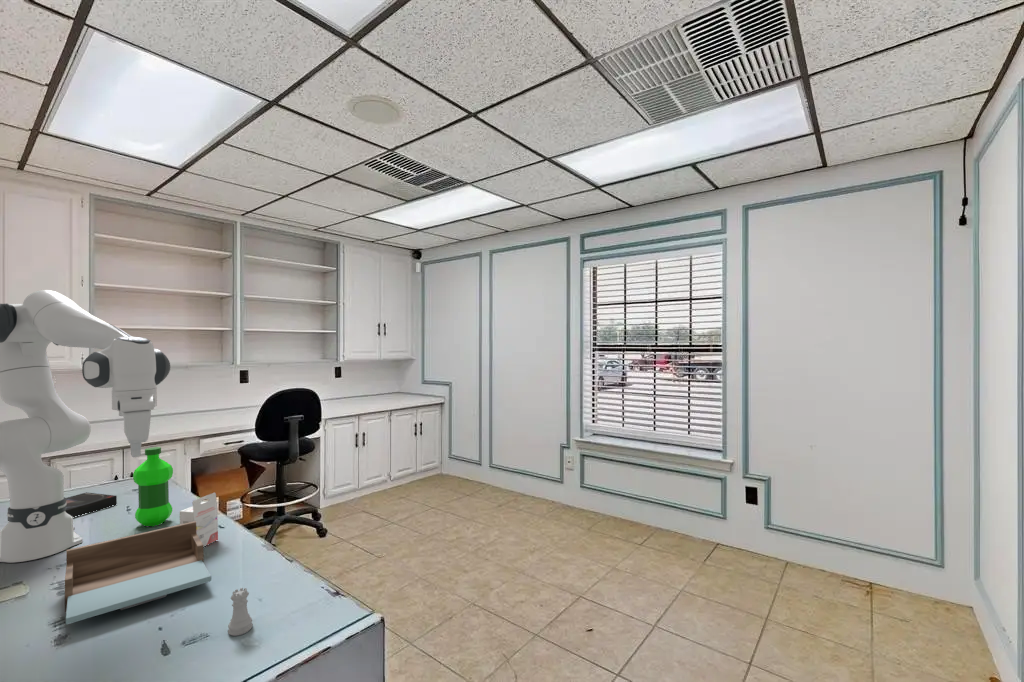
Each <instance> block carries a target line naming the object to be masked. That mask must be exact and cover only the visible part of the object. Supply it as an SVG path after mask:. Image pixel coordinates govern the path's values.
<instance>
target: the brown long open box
mask: <svg viewBox="0 0 1024 682" xmlns="http://www.w3.org/2000/svg"><path fill="white" fill-rule="evenodd" d="M65 551H66V555H65V557H66V559H65V560H66V562H65V563H66V565H65V572H64V573H65V575H64V613H66V611H67V601H68V596H72V595H76V594H79V593H83V592H87V591H90V590H94V589H98V588H101V587H105V586H109V585H112V584H116V583H120V582H123V581H127V580H131V579H135V578H138V577H142V576H146V575H149V574H153V573H157V572H160V571H164V570H168V569H171V568H175V567H179V566H182V565H186V564H190V563H193V562H197V561H201V560H202V561H203V563H204V564H205V561H204V560H205V559H204V552H205V551H204V548H203V544H202V542H201V540H200V538H199V537H198V535H197V533H196V521H193V522H189V523H184V524H180V523H179V524H176V525H172V526H168V527H167V526H166V527H163V528H159V529H154V530H149V531H146V532H140V533H136V534H131V535H127V536H122V537H118V538H114V539H109V540H105V541H101V542H100V541H99V542H96V543H92V544H86V545H83V546H78V547H72V548H70V549H69V548H67V549H65Z"/></svg>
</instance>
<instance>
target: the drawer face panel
mask: <svg viewBox="0 0 1024 682" xmlns="http://www.w3.org/2000/svg"><path fill="white" fill-rule="evenodd" d="M211 581H212V575H211V574H210V571H209V570H208V568H207V566H206V565H205V562H204V563H203V561H202V560H201V561H197V562H193V563H190V564H186V565H182V566H179V567H175V568H171V569H168V570H164V571H160V572H157V573H153V574H149V575H146V576H142V577H138V578H135V579H131V580H127V581H123V582H120V583H116V584H112V585H109V586H105V587H101V588H98V589H94V590H90V591H87V592H83V593H79V594H76V595H72V596H68V601H67V611H66V612H65V613H66V614H65V625H70V624H73V623H76V622H80V621H83V620H86V619H90V618H93V617H95V616H99V615H104V614H106V613H109V612H113V611H116V610H119V609H120V611H123V610H126V609H130V608H133V607H136V606H139V605H144V604H146V603H149V602H152V601H153V602H154V601H156V600H159V599H163V598H166V597H167V595H169V594H173V593H176V592H180V591H182V590H186V589H189V588H192V587H196V586H201V585H203V584H205V583H209V582H211Z"/></svg>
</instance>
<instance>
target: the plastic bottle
mask: <svg viewBox="0 0 1024 682" xmlns="http://www.w3.org/2000/svg"><path fill="white" fill-rule="evenodd" d="M160 454H162V447H160V446H158V447H157V446H155V447H154V446H153V447H148V448H145V449H144V455H145V456H146V459H145V461H144V462H142V463H141V464H140V465H139V466H137V468H135V469H134V471H133V474H132V478H133V482H134V484H136V485H138V489H137V490H138V491H137V492H138V507H137V508H136V511H135V512H134V518H135V520H136V522H138V523H139V524H141V525H143V526H144V527H145V526H152V527H156V526H155V525H157V526H160V525H162V524H164V523H165V522H166V520H168V519H169V518H170V517H171V515H172V512H173V506H172V504H171V503H170V499H169V498H170V497H169V481H170V480H171V479H172V477H173V474H174V468H173V466H172V465H171V464H170V463H168V462H167V461H165V460H163V459H162V458H160ZM163 522H164V523H163ZM161 523H162V524H161ZM159 524H160V525H159Z"/></svg>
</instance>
